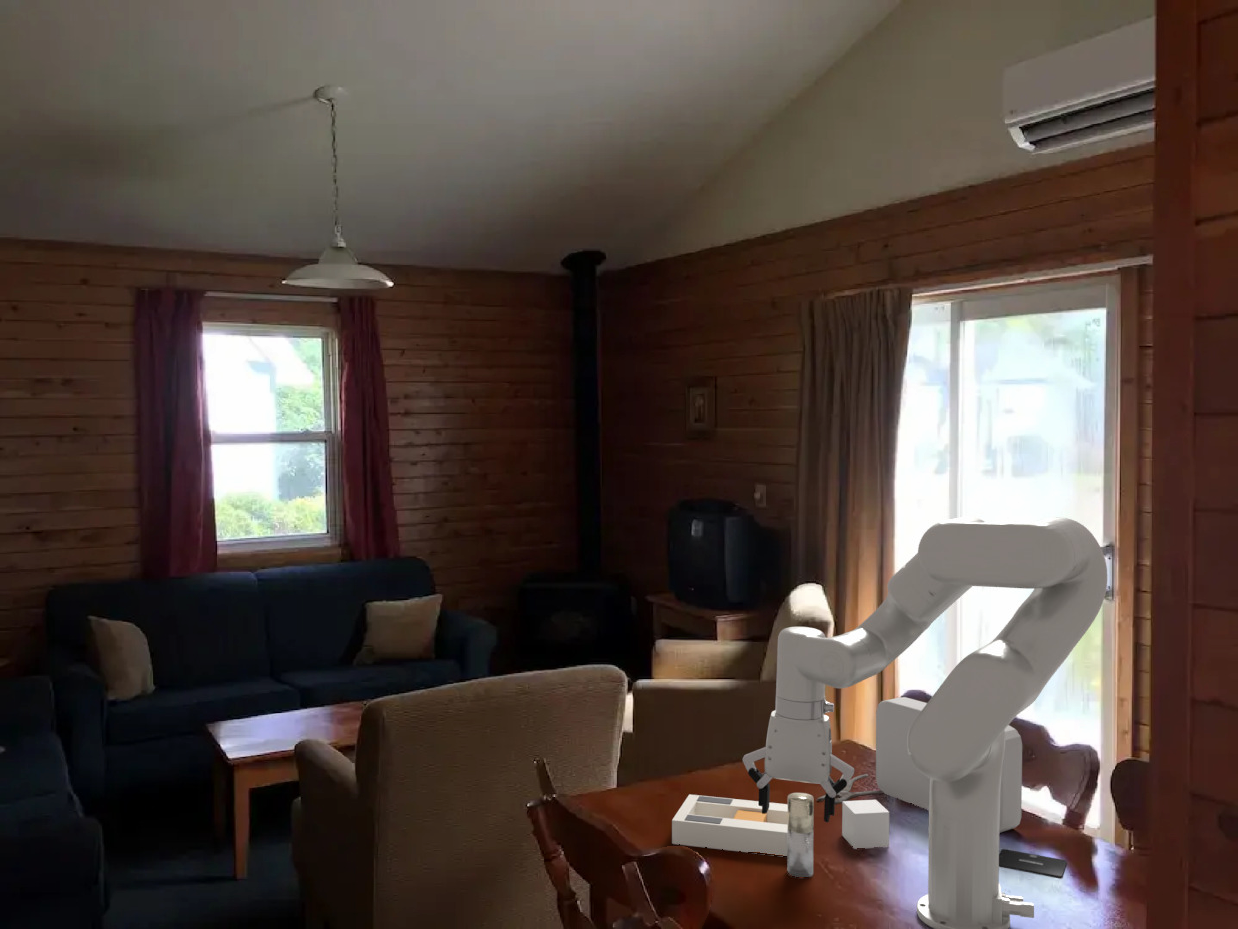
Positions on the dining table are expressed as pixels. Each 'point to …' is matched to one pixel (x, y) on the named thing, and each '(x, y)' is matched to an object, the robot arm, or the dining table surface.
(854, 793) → the pliers
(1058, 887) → the dining table surface
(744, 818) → the switch tab
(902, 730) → the rounded white slab
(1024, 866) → the solid state drive
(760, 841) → the switch box
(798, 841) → the silver metal cylinder
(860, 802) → the white cube
